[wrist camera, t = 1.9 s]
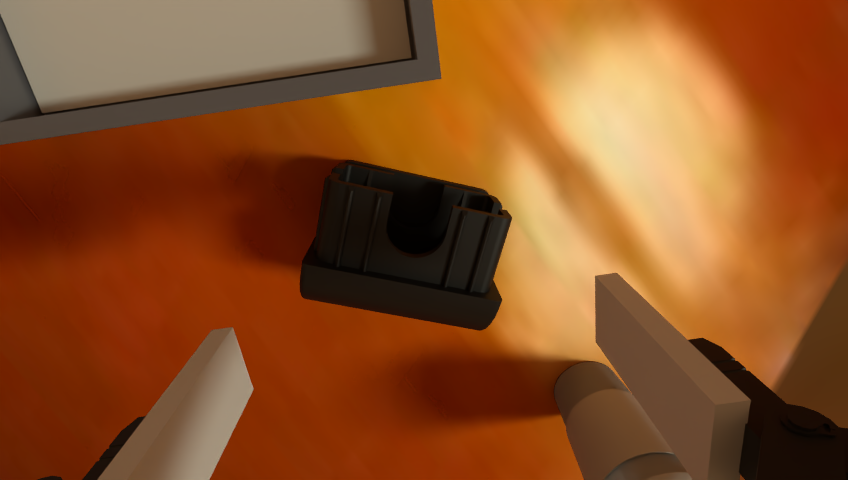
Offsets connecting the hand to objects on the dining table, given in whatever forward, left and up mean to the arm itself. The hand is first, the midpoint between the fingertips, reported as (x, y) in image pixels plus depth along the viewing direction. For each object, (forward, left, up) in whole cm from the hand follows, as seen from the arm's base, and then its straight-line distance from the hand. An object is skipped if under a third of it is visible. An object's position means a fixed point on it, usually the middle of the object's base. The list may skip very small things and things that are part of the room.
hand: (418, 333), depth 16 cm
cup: (+11, -14, -12) cm, 22 cm away
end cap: (0, 0, -13) cm, 13 cm away
